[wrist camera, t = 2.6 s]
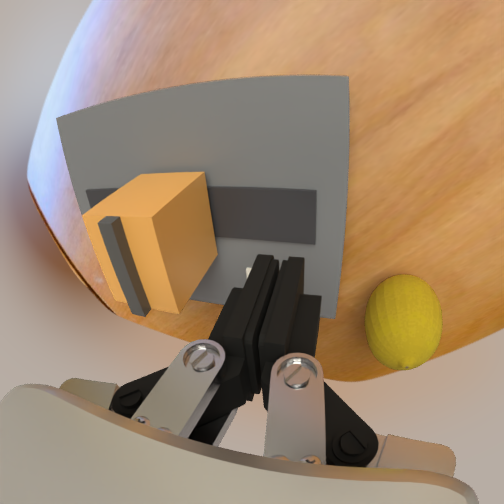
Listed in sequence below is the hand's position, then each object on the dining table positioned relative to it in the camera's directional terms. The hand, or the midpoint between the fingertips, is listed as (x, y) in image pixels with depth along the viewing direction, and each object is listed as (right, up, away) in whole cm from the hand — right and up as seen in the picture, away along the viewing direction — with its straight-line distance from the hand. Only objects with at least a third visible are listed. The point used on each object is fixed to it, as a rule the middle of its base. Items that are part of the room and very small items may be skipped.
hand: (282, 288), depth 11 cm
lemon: (+10, -1, +10) cm, 15 cm away
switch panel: (-4, +6, +10) cm, 12 cm away
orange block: (-5, +3, +6) cm, 8 cm away
